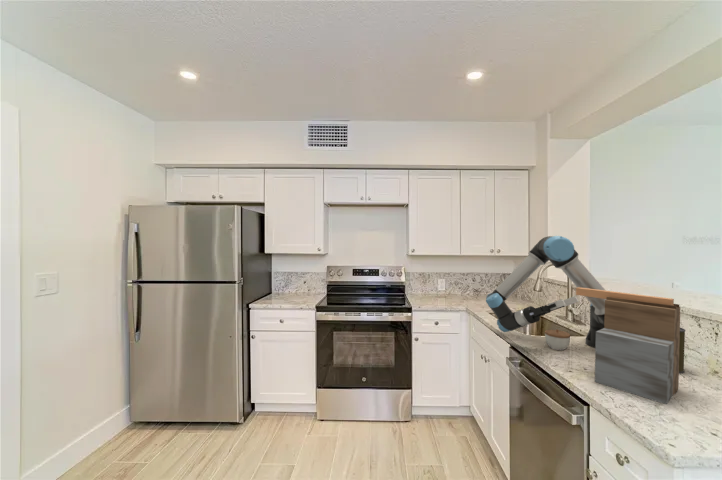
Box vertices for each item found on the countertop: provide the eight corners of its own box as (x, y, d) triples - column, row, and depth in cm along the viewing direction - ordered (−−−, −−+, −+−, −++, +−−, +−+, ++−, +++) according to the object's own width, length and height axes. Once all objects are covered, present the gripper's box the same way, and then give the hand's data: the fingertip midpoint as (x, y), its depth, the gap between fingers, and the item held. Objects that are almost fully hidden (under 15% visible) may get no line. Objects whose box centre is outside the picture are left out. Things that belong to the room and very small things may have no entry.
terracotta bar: (578, 294, 140) (579, 287, 140) (673, 307, 116) (673, 298, 116) (575, 294, 138) (576, 287, 138) (671, 308, 114) (671, 299, 114)
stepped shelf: (611, 370, 133) (612, 295, 133) (678, 389, 117) (680, 303, 117) (594, 381, 122) (596, 299, 122) (666, 404, 106) (668, 309, 106)
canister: (647, 361, 143) (648, 316, 143) (679, 366, 138) (680, 320, 138) (654, 370, 134) (655, 322, 134) (689, 376, 129) (690, 326, 129)
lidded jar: (575, 351, 155) (575, 331, 155) (556, 352, 153) (557, 333, 153) (557, 344, 166) (557, 325, 166) (539, 345, 164) (539, 326, 164)
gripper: (543, 320, 162) (586, 305, 147) (517, 327, 147) (562, 312, 132) (536, 305, 165) (577, 289, 150) (510, 311, 150) (553, 294, 135)
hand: (570, 300), depth 141 cm, fingers open, 13 cm apart
